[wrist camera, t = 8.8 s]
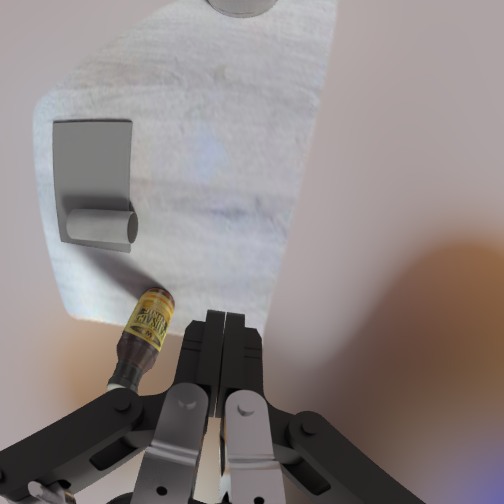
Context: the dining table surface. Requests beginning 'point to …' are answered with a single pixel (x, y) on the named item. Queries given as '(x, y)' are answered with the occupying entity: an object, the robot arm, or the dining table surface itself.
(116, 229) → the grey hollow cylinder
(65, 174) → the mat
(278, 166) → the dining table surface
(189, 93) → the dining table surface
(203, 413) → the robot arm
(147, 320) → the sauce bottle
